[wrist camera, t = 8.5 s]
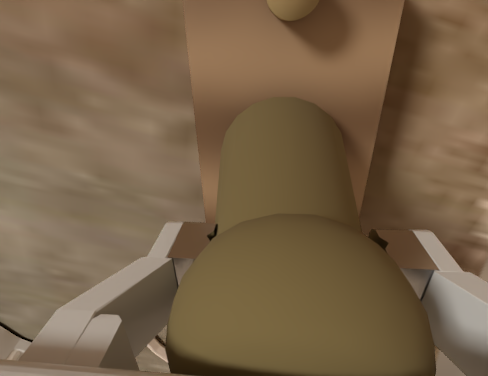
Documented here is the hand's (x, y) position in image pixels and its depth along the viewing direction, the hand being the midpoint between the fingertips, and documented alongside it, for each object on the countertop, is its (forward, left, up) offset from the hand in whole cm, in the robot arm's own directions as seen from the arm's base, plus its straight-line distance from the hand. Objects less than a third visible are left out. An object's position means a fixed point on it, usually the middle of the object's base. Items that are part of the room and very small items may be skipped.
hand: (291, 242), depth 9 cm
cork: (0, 0, -7) cm, 7 cm away
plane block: (+1, 0, -10) cm, 10 cm away
